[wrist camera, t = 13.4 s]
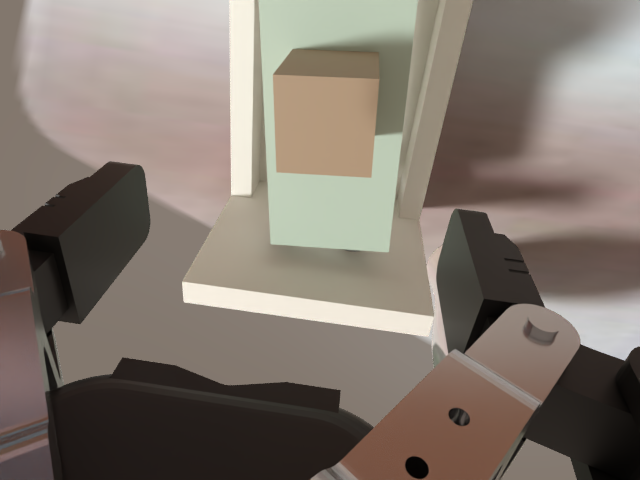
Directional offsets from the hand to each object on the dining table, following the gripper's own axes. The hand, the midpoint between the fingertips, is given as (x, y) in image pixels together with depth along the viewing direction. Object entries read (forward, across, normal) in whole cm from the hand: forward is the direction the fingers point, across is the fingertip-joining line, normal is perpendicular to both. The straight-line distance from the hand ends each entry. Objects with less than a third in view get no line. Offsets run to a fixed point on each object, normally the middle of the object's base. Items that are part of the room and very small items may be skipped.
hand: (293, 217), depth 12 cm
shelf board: (+14, 0, 0) cm, 14 cm away
